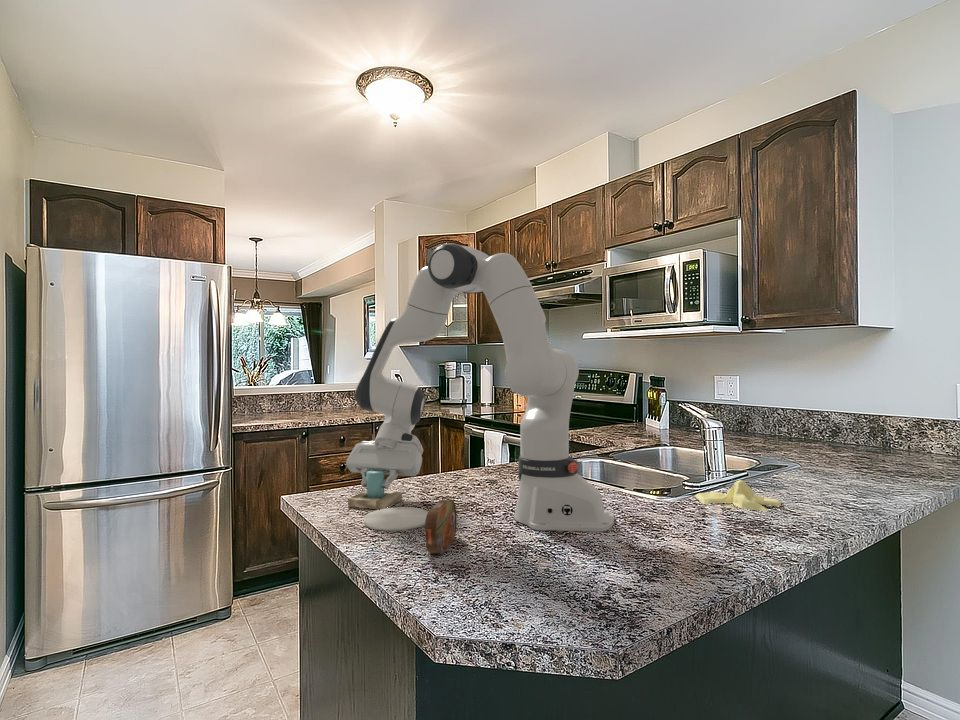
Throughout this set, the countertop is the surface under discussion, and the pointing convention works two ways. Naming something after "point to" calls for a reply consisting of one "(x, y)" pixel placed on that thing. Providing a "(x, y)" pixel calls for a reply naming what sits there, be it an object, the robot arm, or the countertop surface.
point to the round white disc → (395, 519)
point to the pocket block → (374, 500)
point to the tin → (440, 526)
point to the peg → (375, 484)
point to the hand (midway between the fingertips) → (374, 486)
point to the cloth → (738, 498)
